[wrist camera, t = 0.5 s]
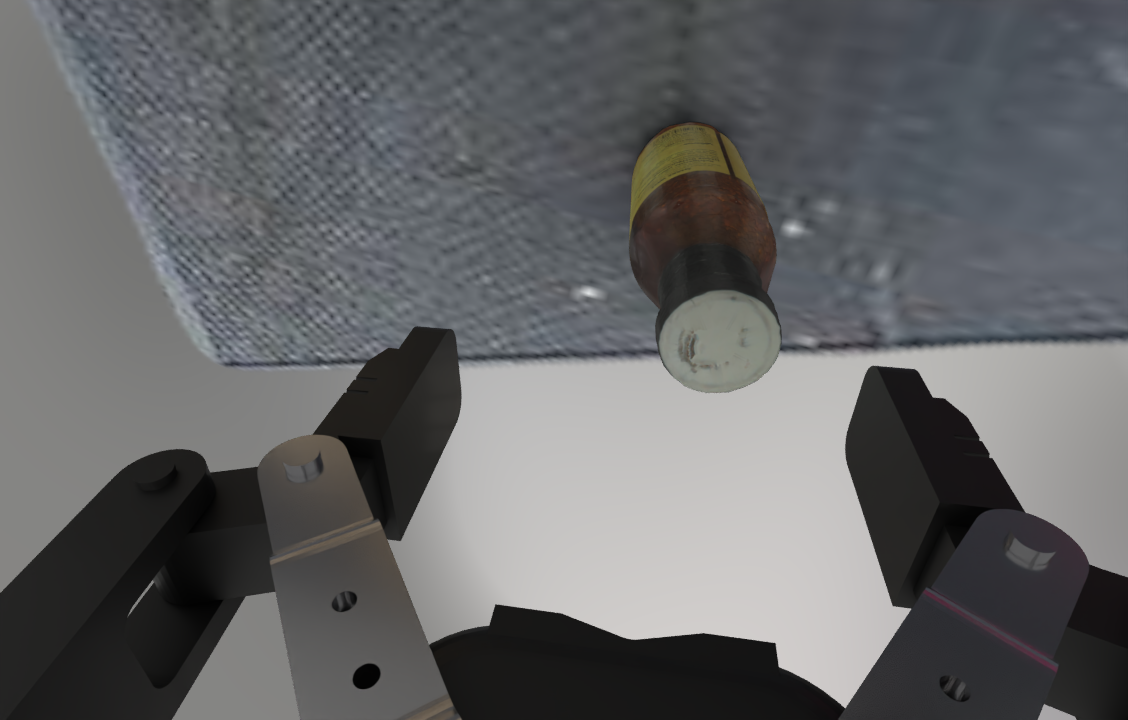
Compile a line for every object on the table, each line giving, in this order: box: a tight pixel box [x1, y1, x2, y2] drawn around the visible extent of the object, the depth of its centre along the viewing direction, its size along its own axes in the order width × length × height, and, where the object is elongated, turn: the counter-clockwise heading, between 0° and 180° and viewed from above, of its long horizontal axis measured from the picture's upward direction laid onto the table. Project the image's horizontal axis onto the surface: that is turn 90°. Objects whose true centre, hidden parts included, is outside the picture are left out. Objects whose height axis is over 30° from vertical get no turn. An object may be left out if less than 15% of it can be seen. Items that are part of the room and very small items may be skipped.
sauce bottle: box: [629, 122, 782, 393], centre depth 29 cm, size 7×6×20 cm
